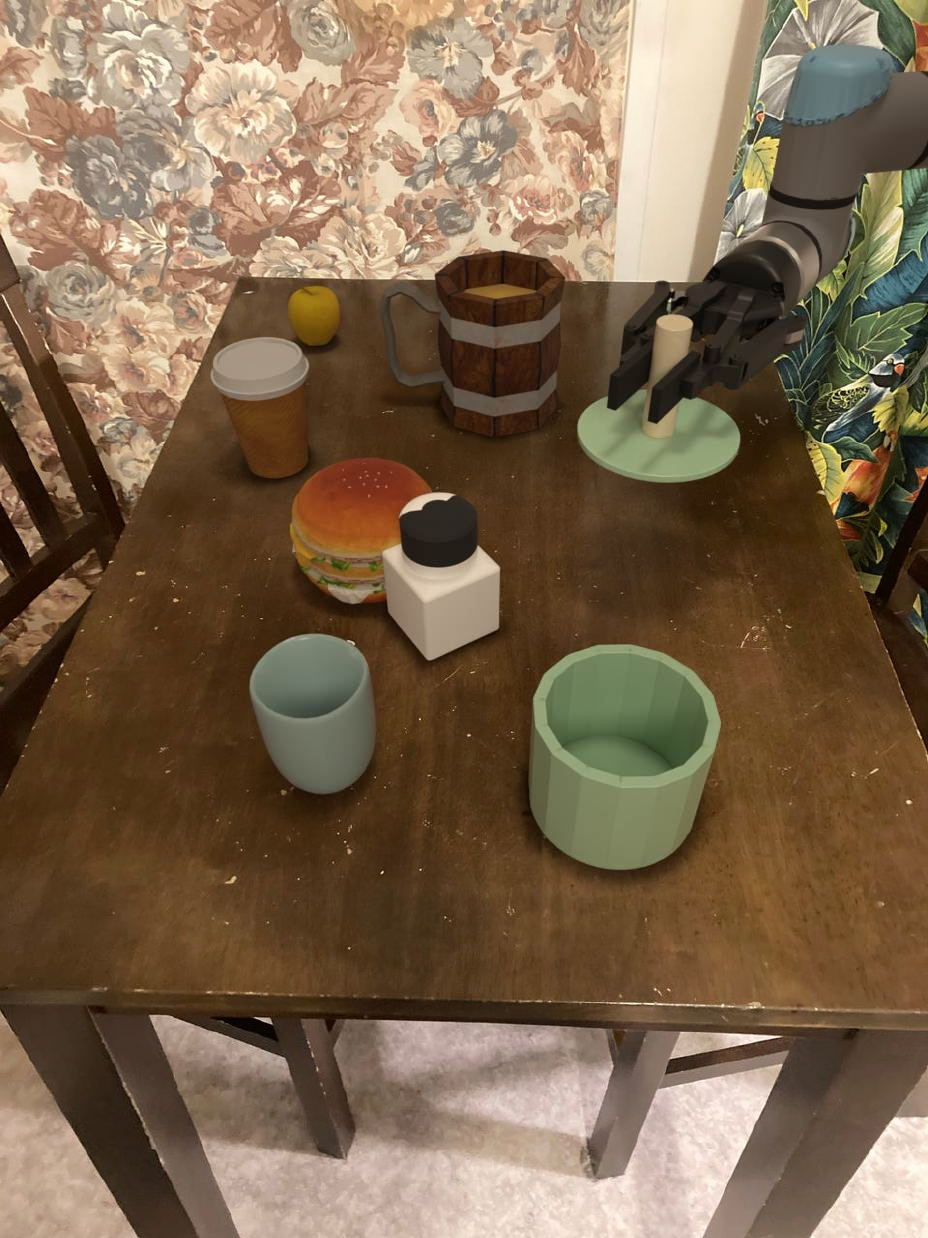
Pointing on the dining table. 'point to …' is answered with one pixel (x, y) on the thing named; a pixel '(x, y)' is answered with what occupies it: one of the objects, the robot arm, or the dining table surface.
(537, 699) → the tin
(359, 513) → the burger
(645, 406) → the tin lid
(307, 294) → the apple
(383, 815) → the dining table surface
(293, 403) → the disposable coffee cup
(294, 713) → the cup
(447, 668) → the dining table surface
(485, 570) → the medicine bottle
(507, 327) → the mug
